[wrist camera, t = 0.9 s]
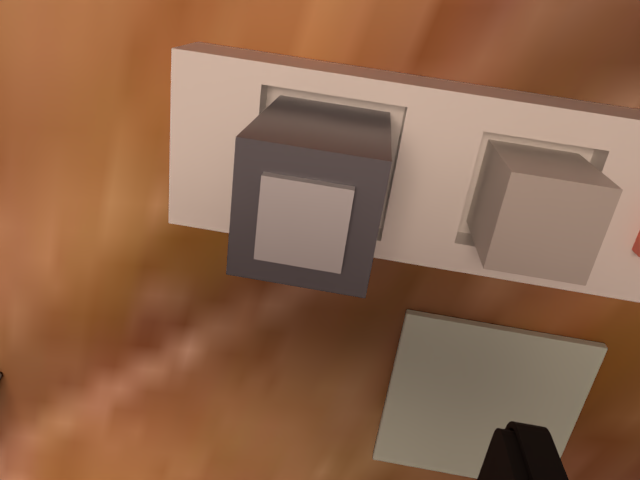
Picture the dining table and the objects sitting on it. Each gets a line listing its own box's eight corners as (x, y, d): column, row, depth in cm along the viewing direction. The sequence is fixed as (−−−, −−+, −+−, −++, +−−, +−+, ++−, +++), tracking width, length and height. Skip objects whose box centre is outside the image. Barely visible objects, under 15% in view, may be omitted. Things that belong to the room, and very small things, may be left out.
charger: (390, 112, 24) (391, 165, 17) (371, 215, 26) (365, 304, 19) (280, 95, 25) (232, 139, 17) (269, 198, 27) (223, 279, 19)
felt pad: (604, 343, 30) (607, 348, 30) (543, 485, 35) (546, 491, 34) (406, 309, 31) (407, 313, 30) (372, 453, 35) (372, 459, 35)
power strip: (892, 148, 24) (988, 176, 21) (803, 299, 28) (871, 349, 24) (197, 41, 26) (164, 49, 22) (192, 198, 29) (162, 229, 25)
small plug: (578, 153, 24) (623, 189, 20) (550, 234, 26) (585, 285, 21) (488, 139, 24) (511, 172, 20) (466, 221, 26) (483, 268, 21)
